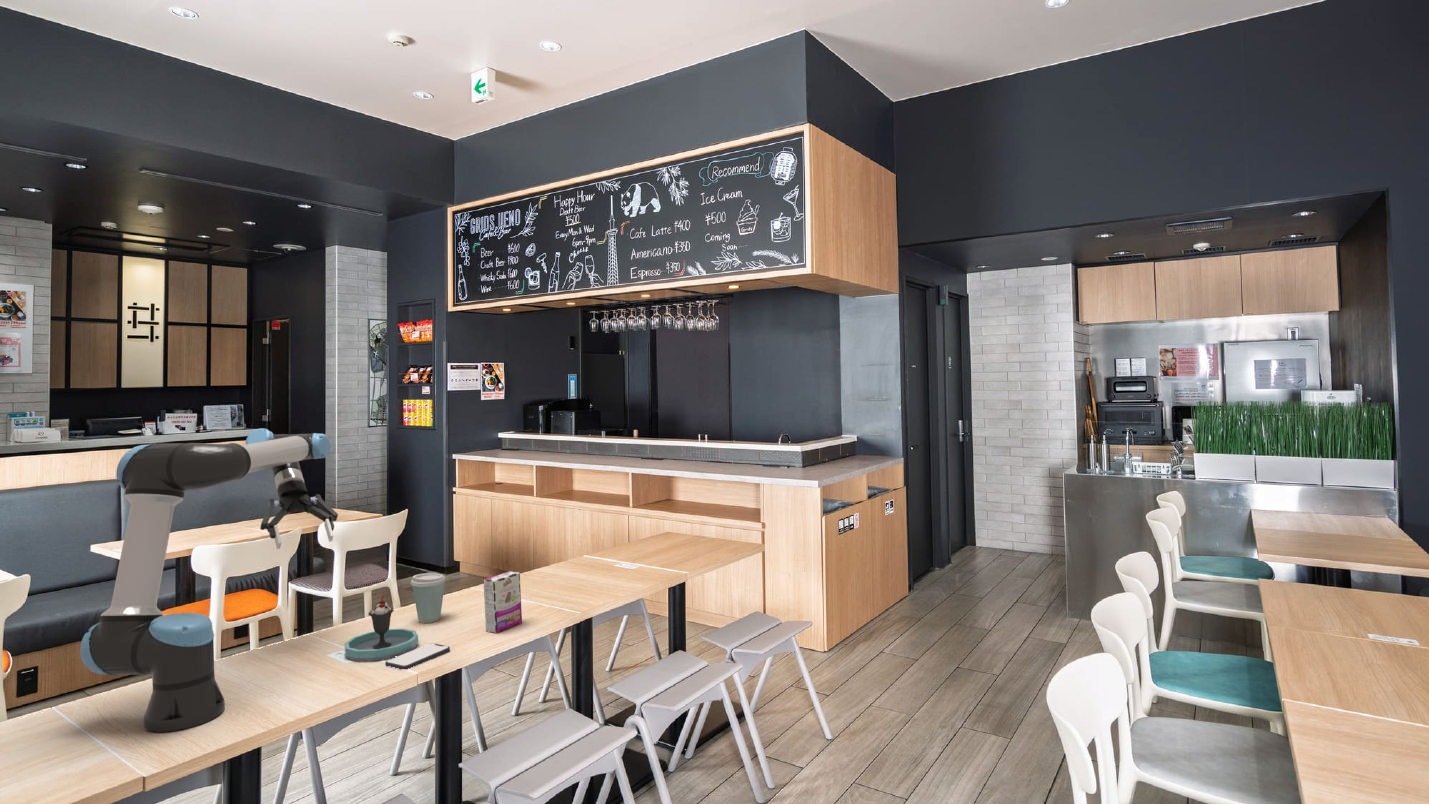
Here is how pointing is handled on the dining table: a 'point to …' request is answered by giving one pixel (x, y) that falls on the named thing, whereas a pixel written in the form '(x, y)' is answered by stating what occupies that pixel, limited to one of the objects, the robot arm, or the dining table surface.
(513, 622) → the candy bar box
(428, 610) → the disposable coffee cup
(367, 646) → the round tray
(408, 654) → the smartphone
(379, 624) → the sundae
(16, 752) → the dining table surface
